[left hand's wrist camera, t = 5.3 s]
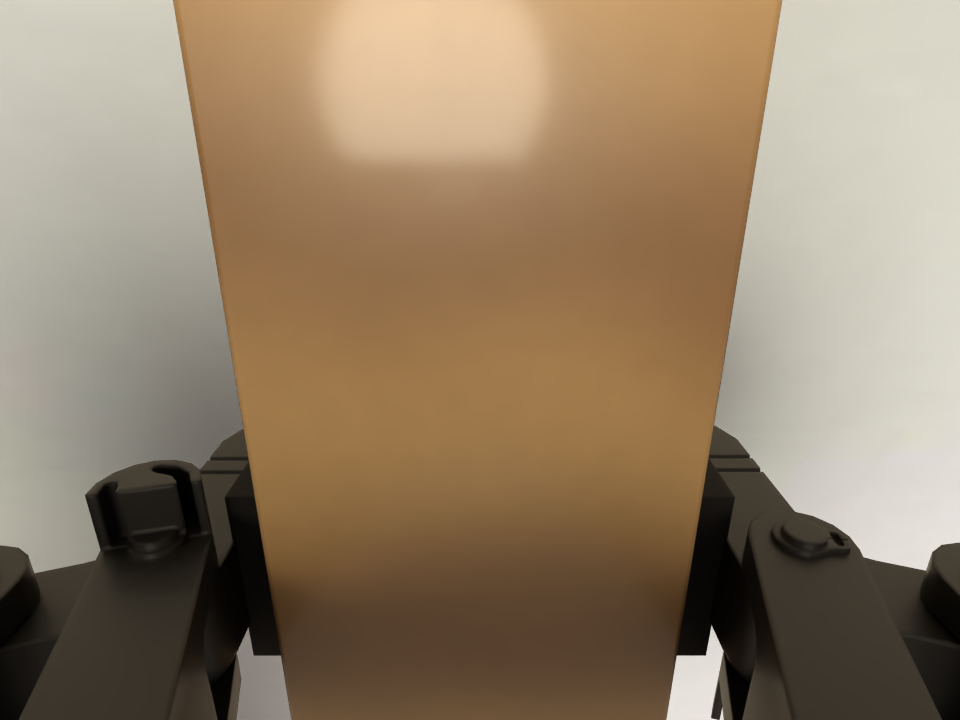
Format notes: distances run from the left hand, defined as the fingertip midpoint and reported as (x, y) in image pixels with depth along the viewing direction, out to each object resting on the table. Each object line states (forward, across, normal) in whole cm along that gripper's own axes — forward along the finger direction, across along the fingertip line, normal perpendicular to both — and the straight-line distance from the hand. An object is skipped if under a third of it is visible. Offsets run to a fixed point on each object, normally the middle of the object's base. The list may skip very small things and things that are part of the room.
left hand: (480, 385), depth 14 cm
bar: (+1, 0, -32) cm, 32 cm away
